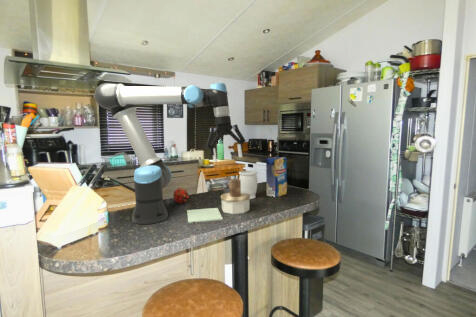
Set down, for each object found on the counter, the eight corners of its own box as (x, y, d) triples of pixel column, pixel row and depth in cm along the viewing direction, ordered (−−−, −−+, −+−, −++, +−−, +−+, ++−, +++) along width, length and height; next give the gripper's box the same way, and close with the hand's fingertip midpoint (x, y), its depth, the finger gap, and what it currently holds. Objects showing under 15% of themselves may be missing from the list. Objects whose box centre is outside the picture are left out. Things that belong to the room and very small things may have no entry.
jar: (257, 195, 161) (257, 170, 160) (257, 199, 151) (257, 173, 149) (240, 195, 162) (239, 170, 161) (238, 199, 152) (238, 173, 150)
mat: (188, 223, 116) (188, 221, 116) (187, 211, 132) (187, 210, 132) (222, 220, 119) (222, 218, 119) (217, 208, 135) (217, 207, 135)
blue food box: (286, 193, 164) (286, 157, 161) (275, 197, 156) (275, 159, 154) (277, 192, 169) (277, 156, 166) (266, 195, 161) (266, 158, 158)
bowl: (224, 214, 126) (224, 202, 125) (220, 206, 139) (220, 195, 138) (251, 212, 129) (251, 200, 128) (245, 205, 141) (244, 193, 141)
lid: (223, 202, 125) (222, 183, 124) (218, 195, 139) (218, 177, 138) (253, 200, 128) (253, 181, 127) (245, 193, 142) (245, 176, 141)
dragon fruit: (179, 202, 155) (185, 210, 145) (167, 195, 151) (173, 203, 141) (187, 189, 156) (194, 197, 146) (176, 182, 152) (182, 190, 141)
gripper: (199, 118, 122) (206, 164, 124) (248, 112, 132) (254, 155, 135) (195, 119, 129) (201, 163, 131) (242, 114, 139) (247, 155, 141)
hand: (228, 159), depth 133 cm, fingers open, 13 cm apart
